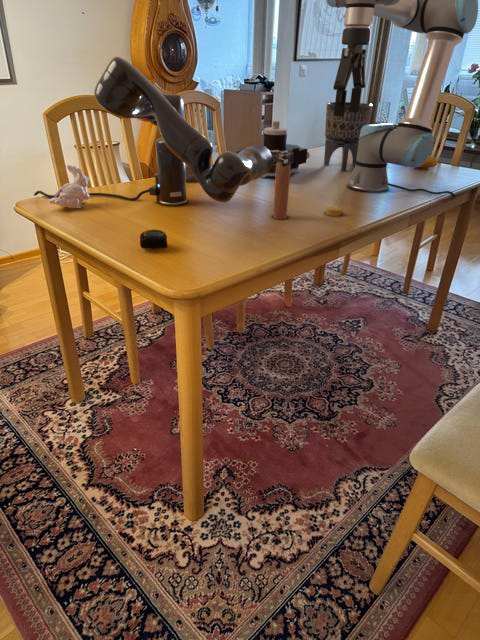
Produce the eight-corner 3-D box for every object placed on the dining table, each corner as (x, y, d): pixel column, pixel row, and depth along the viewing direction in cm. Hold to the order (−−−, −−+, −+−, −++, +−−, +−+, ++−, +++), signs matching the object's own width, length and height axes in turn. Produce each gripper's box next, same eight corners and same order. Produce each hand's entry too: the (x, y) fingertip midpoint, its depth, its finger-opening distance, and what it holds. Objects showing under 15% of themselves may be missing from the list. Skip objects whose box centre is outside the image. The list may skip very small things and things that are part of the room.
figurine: (99, 203, 151) (94, 164, 145) (61, 214, 140) (53, 172, 134) (83, 199, 155) (77, 161, 149) (45, 209, 144) (37, 168, 138)
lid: (343, 213, 147) (344, 208, 146) (336, 217, 144) (337, 211, 143) (330, 210, 150) (331, 205, 149) (323, 213, 147) (323, 208, 146)
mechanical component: (240, 120, 182) (283, 115, 202) (239, 174, 192) (280, 164, 212) (283, 126, 170) (325, 120, 190) (280, 183, 180) (320, 171, 200)
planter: (313, 167, 208) (319, 103, 195) (331, 160, 222) (338, 101, 209) (353, 173, 199) (362, 107, 185) (369, 166, 213) (379, 104, 199)
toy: (412, 161, 206) (406, 154, 219) (414, 175, 209) (408, 167, 222) (438, 153, 203) (431, 147, 216) (440, 167, 206) (432, 160, 219)
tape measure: (140, 252, 115) (139, 238, 113) (141, 242, 120) (140, 229, 119) (167, 251, 116) (166, 237, 114) (167, 241, 121) (166, 228, 120)
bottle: (272, 218, 141) (276, 155, 132) (273, 214, 145) (277, 152, 135) (286, 219, 141) (290, 156, 131) (287, 215, 144) (291, 153, 135)
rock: (201, 174, 189) (200, 158, 186) (213, 179, 184) (213, 162, 180) (174, 179, 182) (173, 162, 178) (186, 184, 176) (186, 167, 173)
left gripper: (225, 175, 115) (248, 164, 128) (279, 182, 110) (297, 169, 123) (225, 144, 111) (249, 135, 124) (281, 149, 107) (299, 139, 120)
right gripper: (358, 30, 133) (347, 109, 143) (327, 25, 114) (318, 116, 125) (383, 30, 129) (371, 111, 140) (356, 24, 111) (344, 119, 121)
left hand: (273, 152), depth 124 cm, fingers open, 8 cm apart
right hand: (346, 114), depth 132 cm, fingers open, 13 cm apart
